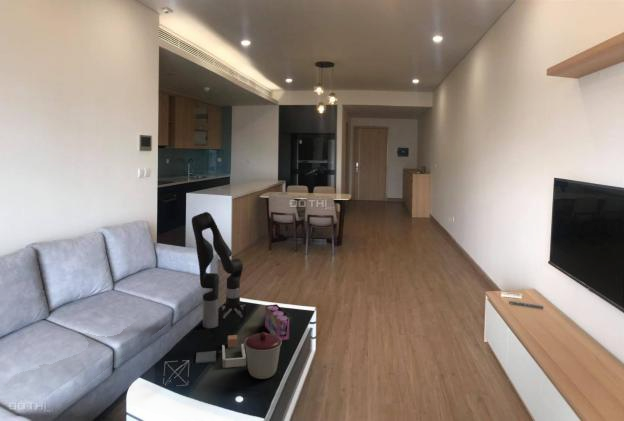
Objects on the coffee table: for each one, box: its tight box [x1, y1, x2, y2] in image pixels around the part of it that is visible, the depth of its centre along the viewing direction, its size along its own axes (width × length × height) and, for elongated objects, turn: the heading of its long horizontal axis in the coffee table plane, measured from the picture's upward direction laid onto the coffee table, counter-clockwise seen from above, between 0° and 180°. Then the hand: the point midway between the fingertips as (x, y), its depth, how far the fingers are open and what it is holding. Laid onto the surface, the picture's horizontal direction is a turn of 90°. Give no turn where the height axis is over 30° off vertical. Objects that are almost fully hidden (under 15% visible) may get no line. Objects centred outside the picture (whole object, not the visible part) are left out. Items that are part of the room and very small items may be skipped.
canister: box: [243, 331, 283, 380], centre depth 195 cm, size 18×18×21 cm
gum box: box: [264, 303, 290, 341], centre depth 241 cm, size 24×8×14 cm, turn 24°
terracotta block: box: [227, 334, 238, 349], centre depth 224 cm, size 5×5×5 cm
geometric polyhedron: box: [162, 359, 190, 387], centre depth 185 cm, size 12×11×9 cm
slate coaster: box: [195, 350, 217, 364], centre depth 209 cm, size 10×10×1 cm
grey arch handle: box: [221, 343, 247, 369], centre depth 209 cm, size 16×11×4 cm
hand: (232, 323), depth 221 cm, fingers open, 8 cm apart
